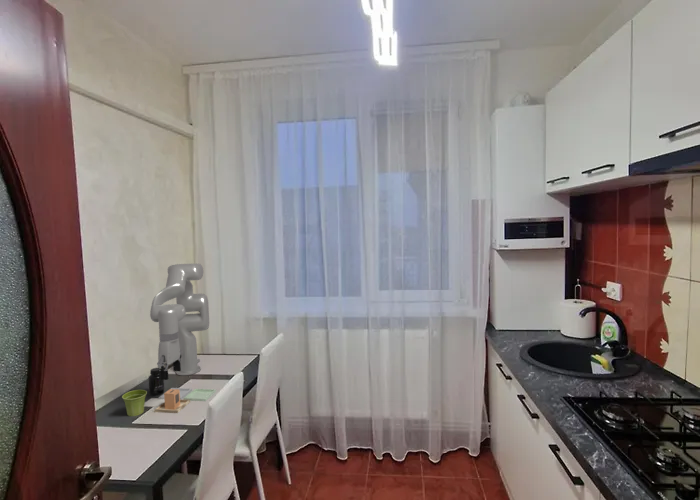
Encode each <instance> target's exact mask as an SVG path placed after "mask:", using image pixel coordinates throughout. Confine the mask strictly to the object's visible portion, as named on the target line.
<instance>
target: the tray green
mask: <svg viewBox="0 0 700 500" xmlns="http://www.w3.org/2000/svg"><path fill="white" fill-rule="evenodd" d="M216 392H217V389H215V388H213V389H212V388H194V389H192V391H191V392H190V393H189V394H188V395H186V396H185V397H184V398H183V399H182V400H190V402H192V401H193V402H206V401H207V400H209V399H210V398H211V397H212V396H213V395H214V394H215V393H216Z"/></svg>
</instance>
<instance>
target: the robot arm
mask: <svg viewBox="0 0 700 500" xmlns="http://www.w3.org/2000/svg"><path fill="white" fill-rule="evenodd" d="M203 277H204V268H203V265H202V264H201V263H177V264H171V265H169V266H168V267H167V279H166V284H165V287H164V288H162V289H161V290H160V291H159V292H158V293H157V294H155V296H154V298H153V299H152V302H151V306H150V310H149V311H150V312H149V313H150V314H149V317H150V319H151V321H152V322H154V323H158V330H159V331H158V332H159V343H158V347H157V348H158V349H157V351H158V353H157V363H156V365H157V368H159V371H160V374H161V380H164V381H166V380H167V381H168V380H169V370H168V368H169V365H172V366H173V367H172V369H173V371H174V372H175V373H176V375H178V376H191V375H195V374H197V373H199V372H200V371H201V370H202V368H201V366H199V365H198V364H199V363H200V362H201V359H200V358H198V351H197V350H198V349H197V338H196V335H195V334H194V333H193V332H200V331H201V332H203V331H207V330H208V329H209V327H210V312H209V311H210V310H209V299H208V296H207V295H206V294H205V293H194V288H193V287H194V285H193V283H192V282H191V281H199V280H202V279H203ZM174 299H175V300H176V303H175V304H174V303H172V304H171V303H170V304H164V303H166V302H168V301H171V300H174ZM193 312H194V313H193ZM195 312H198V313H195Z"/></svg>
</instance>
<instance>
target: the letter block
mask: <svg viewBox="0 0 700 500" xmlns="http://www.w3.org/2000/svg"><path fill="white" fill-rule="evenodd" d="M169 389H170V390H169ZM169 389H168V390H166V391H165V392H164V393H163V394H164V400H165V401H164V402H165V409H174V410H175V409H176V408H177V407H178V406H180V389H171V388H169Z"/></svg>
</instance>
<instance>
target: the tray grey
mask: <svg viewBox="0 0 700 500" xmlns="http://www.w3.org/2000/svg"><path fill="white" fill-rule="evenodd" d="M170 389H180V400H183V398H184V397H185V396H187V395H188V394H189V393H190V392H192V391H193V388H190V387H189V388H187V387H186V388H185V387H184V388H183V387H171V388H169V389H168V390H170ZM158 398H159V399H164V393H163V394H161V395H159V396H158Z"/></svg>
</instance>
